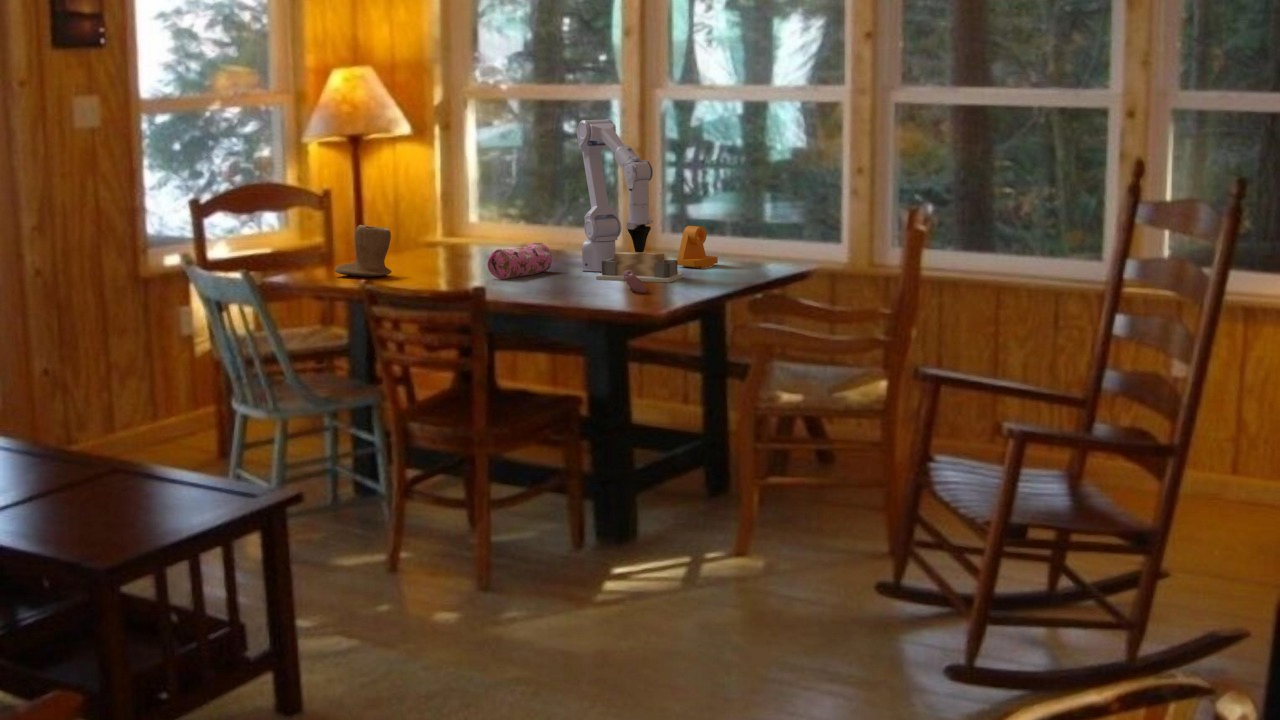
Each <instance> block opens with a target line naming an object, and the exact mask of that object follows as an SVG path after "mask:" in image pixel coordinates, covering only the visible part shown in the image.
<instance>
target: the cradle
mask: <svg viewBox="0 0 1280 720" xmlns="http://www.w3.org/2000/svg"><path fill="white" fill-rule="evenodd" d="M654 269H655V276H638V275H635V276H636V277H637V278H639V279H640V280H641V281H642V282H643V283H645V282H646V283H647V282H648V283H672V282H674V281H676V280H680V279H681V278H684V273H683V272H681V273H680V272H678V265H677V259H664V263H654ZM623 279H624V275H617V261H614V258H610V259H607V260H604V261H602V272H601V273H600V274H597V275H596V276H595V280H600V281H601V280H602V281H622V282H624V281H623Z"/></svg>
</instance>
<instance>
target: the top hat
mask: <svg viewBox="0 0 1280 720" xmlns="http://www.w3.org/2000/svg"><path fill="white" fill-rule="evenodd" d="M391 238H392V234H391V230H390V229H389V228H386V227H379V226H378V227H377V226H370V225H364V224H359V225H357V227H356V229H355V231H354V246H355V252H356V260H355V262H351V263H342V264H340V265H338V266H336V267H335V268H334V269H335V270H334V272H335V273H337V274H339V275H343V276H349V275H351V276H350V277H359V276H365V277H364V278H373V277H375V278H376V277H382V276H383V277H384V276H387V275H390V274H392V270H391V269H390V268H388V267H386V265H385V264H386V263H385V260H386V256H387V254H388V251H389V248H390V242H391Z"/></svg>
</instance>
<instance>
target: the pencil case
mask: <svg viewBox="0 0 1280 720" xmlns="http://www.w3.org/2000/svg"><path fill="white" fill-rule="evenodd" d="M552 262H553V258H552V251H551V250H550V248H549V247H548V246H547V245H546V244H545V243H542V242H531V243H529V244H528V245H527V244H526V245H524V246H520V247H515V248H510V249H509V248H497V249H495V250H494V251H493V252H491V254H490V255H489V257H488V258H487V269H488V271H489V272H490V274H491V275H492V276H493V277H495V278H496V279H498V280H506V279H512V278H517V277H524V276H525V277H526V276H530V275H531V276H532V275H537V274H538V273H539V274H540V273H544V272H546V271H548V270H549V269H550V268H551V266H552V264H553V263H552Z"/></svg>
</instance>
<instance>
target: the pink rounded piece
mask: <svg viewBox="0 0 1280 720" xmlns="http://www.w3.org/2000/svg"><path fill="white" fill-rule="evenodd" d="M623 275H624V279H623V281H622V282H624V283H625V282H626V284H627V285H628V286H629V287H628V290H629V291H631V292H632V293H634V292H637V293H639V294H645V293H646V292H647V287H646V285H645V284H644V282H643V281H641V280H640V279H639V278H637V277H636V276H635V272H634V271H632V270H626V271H624V273H623Z"/></svg>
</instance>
